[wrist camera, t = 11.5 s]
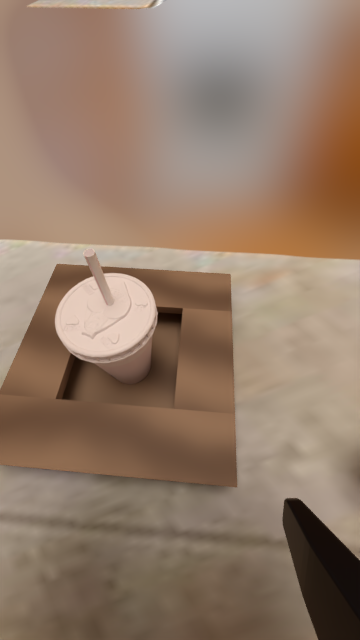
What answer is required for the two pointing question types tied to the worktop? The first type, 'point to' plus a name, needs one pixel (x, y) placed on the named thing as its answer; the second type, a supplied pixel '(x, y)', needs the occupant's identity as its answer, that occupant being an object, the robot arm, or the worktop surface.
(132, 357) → the smoothie
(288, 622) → the worktop surface
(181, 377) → the walnut box
